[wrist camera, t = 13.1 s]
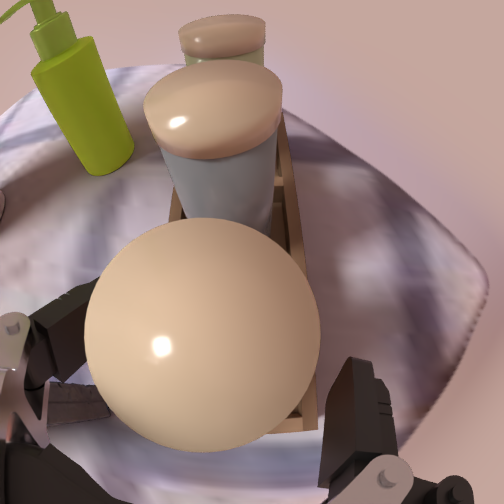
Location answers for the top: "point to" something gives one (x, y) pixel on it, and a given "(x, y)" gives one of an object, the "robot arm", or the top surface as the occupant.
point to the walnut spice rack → (291, 240)
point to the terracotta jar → (202, 335)
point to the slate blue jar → (219, 138)
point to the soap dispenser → (77, 90)
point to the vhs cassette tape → (74, 404)
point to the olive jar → (223, 39)
